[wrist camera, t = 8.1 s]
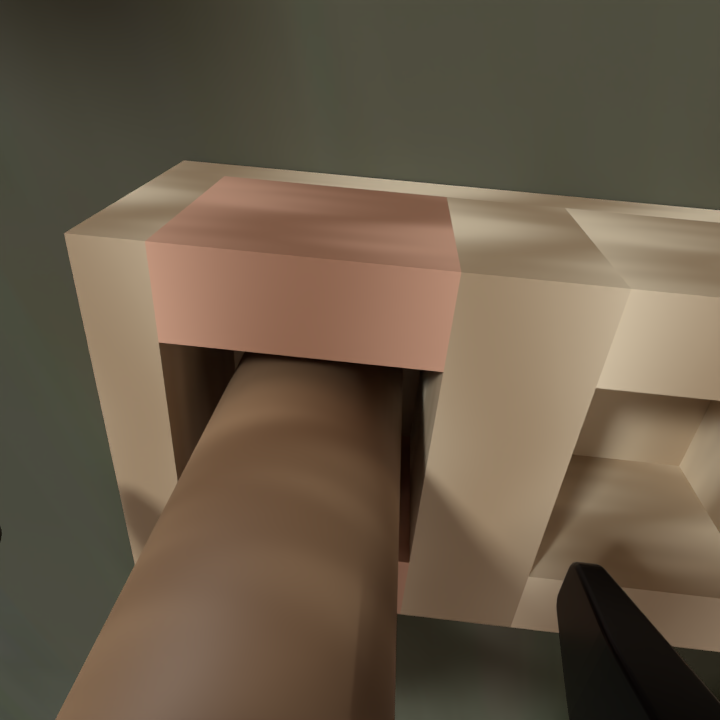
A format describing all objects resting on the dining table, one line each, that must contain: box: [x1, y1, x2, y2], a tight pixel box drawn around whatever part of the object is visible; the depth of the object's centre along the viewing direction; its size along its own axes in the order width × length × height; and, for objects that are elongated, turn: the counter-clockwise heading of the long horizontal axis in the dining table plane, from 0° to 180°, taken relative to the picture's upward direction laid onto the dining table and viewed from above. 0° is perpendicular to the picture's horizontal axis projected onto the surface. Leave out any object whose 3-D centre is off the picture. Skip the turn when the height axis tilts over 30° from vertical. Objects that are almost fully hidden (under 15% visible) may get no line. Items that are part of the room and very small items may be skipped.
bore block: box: [64, 161, 720, 652], centre depth 12 cm, size 14×8×5 cm, turn 86°
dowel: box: [56, 351, 403, 720], centre depth 9 cm, size 4×4×10 cm
